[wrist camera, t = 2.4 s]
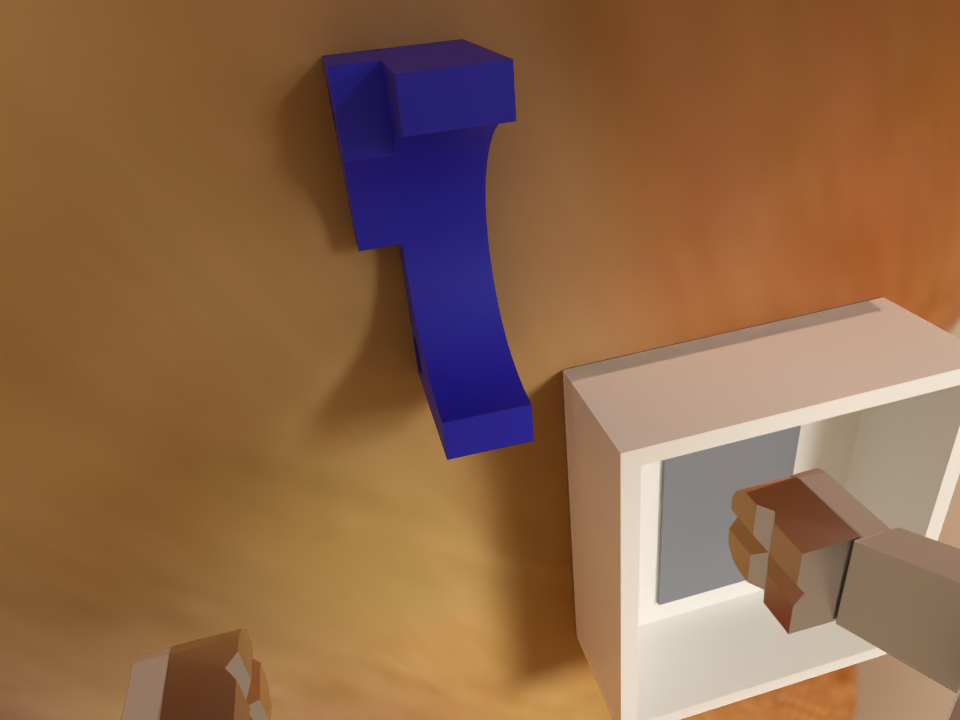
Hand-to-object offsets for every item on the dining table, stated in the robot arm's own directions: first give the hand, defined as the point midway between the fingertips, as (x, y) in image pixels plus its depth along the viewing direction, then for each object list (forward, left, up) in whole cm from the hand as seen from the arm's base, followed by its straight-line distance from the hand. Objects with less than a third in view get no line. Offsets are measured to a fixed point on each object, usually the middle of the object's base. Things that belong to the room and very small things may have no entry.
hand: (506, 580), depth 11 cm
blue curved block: (-1, 0, -17) cm, 17 cm away
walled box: (-14, +16, -16) cm, 27 cm away
